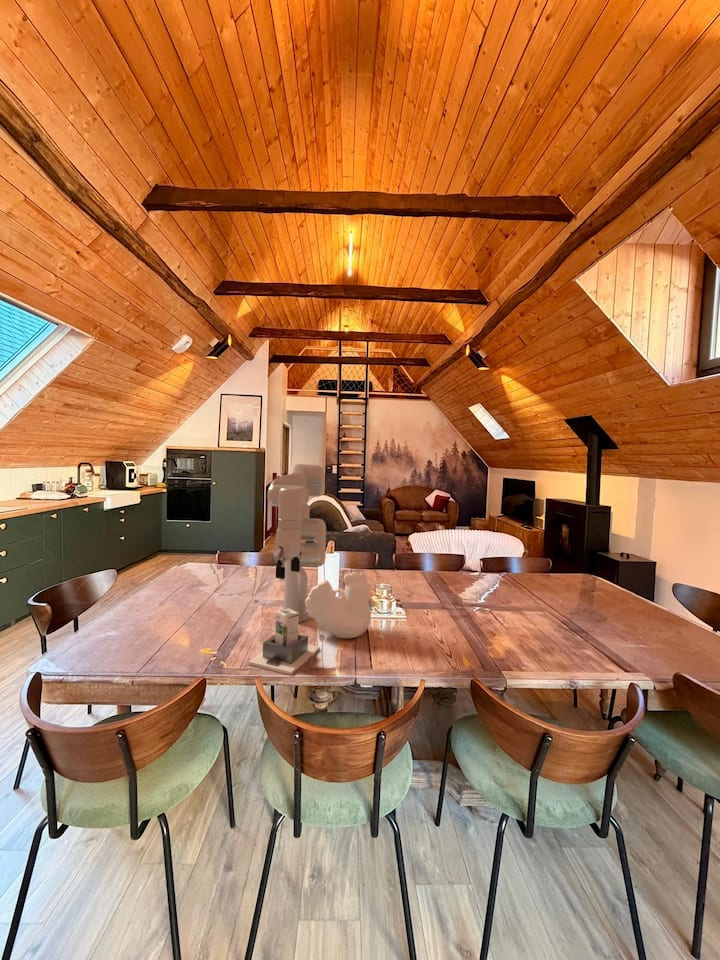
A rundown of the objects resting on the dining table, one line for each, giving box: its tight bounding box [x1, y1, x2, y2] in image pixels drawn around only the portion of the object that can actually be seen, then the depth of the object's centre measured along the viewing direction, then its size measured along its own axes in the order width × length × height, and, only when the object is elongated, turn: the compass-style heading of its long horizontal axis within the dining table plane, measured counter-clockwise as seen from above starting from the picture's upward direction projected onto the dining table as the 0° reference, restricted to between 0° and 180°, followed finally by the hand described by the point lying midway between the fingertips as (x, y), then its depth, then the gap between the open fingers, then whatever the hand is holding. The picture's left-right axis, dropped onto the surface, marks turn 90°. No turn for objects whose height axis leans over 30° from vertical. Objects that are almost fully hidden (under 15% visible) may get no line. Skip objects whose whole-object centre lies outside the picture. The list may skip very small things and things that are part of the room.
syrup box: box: [274, 608, 299, 646], centre depth 149 cm, size 6×6×14 cm
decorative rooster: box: [305, 571, 373, 639], centre depth 170 cm, size 25×16×25 cm, turn 81°
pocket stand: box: [247, 634, 321, 676], centre depth 149 cm, size 20×16×6 cm
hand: (287, 574), depth 148 cm, fingers open, 9 cm apart
